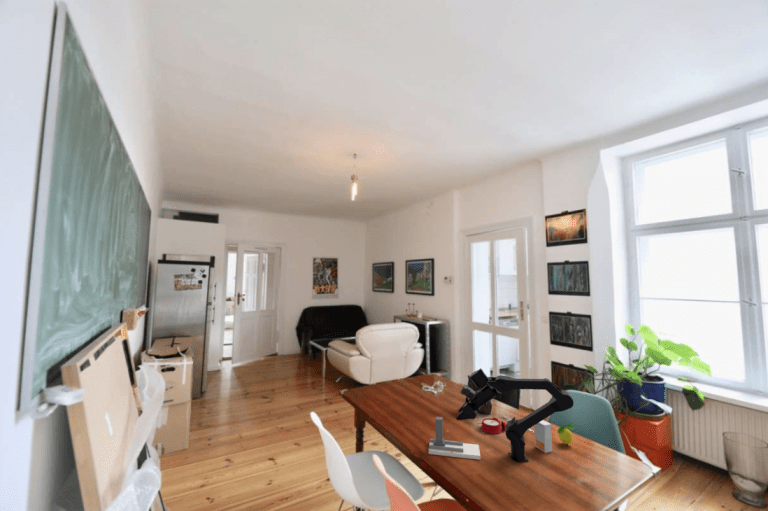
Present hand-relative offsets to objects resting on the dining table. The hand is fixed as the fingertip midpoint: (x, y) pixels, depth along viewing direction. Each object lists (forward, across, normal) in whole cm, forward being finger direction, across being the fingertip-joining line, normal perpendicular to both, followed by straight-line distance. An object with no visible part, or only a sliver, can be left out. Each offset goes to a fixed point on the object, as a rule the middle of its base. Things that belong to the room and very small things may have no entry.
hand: (457, 415), depth 152 cm
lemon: (-27, -21, +42) cm, 54 cm away
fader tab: (+14, +4, +5) cm, 15 cm away
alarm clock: (-2, -26, +21) cm, 34 cm away
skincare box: (-19, -12, +35) cm, 41 cm away
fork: (-12, -36, +30) cm, 48 cm away
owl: (+3, -49, +16) cm, 52 cm away
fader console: (+10, +4, +10) cm, 15 cm away
